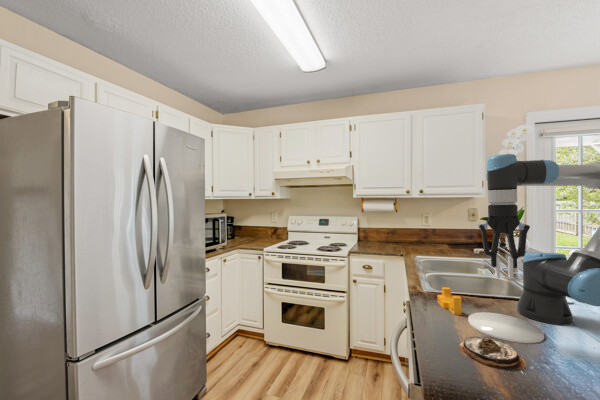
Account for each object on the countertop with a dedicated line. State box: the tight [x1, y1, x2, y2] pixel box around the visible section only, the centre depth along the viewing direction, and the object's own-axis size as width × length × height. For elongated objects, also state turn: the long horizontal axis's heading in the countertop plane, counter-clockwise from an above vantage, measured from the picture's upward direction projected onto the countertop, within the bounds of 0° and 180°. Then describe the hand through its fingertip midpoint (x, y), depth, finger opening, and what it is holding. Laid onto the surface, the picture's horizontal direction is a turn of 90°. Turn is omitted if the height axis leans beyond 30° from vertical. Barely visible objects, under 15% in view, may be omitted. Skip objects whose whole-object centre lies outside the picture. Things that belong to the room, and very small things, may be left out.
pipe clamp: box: [437, 286, 463, 316], centre depth 107 cm, size 12×4×6 cm, turn 172°
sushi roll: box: [458, 335, 527, 371], centre depth 74 cm, size 15×15×4 cm
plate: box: [467, 311, 545, 344], centre depth 90 cm, size 20×20×1 cm
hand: (504, 277), depth 87 cm, fingers open, 3 cm apart
